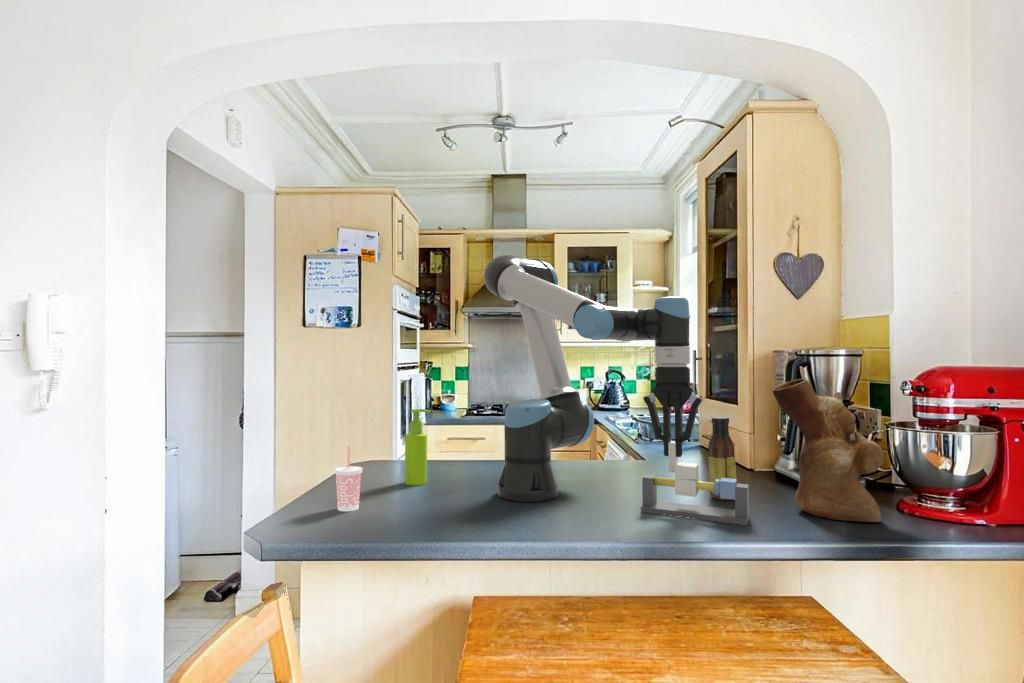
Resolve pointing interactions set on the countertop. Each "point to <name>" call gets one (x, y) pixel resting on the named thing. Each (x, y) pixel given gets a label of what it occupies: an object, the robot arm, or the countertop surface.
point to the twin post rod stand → (721, 488)
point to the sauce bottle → (721, 453)
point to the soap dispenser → (416, 452)
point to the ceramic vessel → (830, 455)
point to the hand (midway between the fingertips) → (673, 471)
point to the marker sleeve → (686, 479)
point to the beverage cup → (348, 486)
